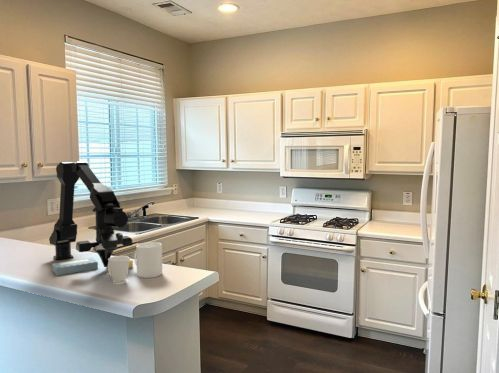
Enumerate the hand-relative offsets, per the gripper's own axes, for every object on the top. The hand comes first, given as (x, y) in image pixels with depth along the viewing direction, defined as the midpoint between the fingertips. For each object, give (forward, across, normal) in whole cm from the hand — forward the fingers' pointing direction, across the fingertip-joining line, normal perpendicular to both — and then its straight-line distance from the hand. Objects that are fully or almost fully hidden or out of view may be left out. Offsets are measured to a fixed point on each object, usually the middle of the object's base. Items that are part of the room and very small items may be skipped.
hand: (105, 266), depth 142 cm
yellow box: (+1, +5, 0) cm, 5 cm away
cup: (+1, -1, -16) cm, 16 cm away
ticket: (+1, -9, +7) cm, 11 cm away
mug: (+1, +10, -14) cm, 17 cm away
